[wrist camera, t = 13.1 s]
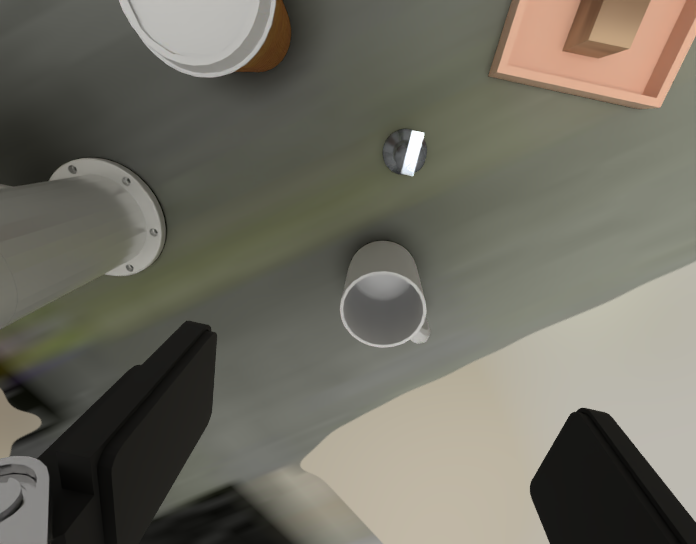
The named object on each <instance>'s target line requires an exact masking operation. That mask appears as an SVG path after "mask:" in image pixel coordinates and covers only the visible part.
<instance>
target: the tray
mask: <svg viewBox="0 0 696 544" xmlns="http://www.w3.org/2000/svg"><path fill="white" fill-rule="evenodd" d="M580 1H581V0H512V2H511V5H510V8H509V11H508V14H507V18H506V21H505V24H504V27H503V30H502V34H501V37H500V40H499V43H498V46H497V50H496V53H495V56H494V59H493V62H492V66H491V69H490V72H489V75H488V76H489V77H494V78H498V79H503V80H507V81H512V82H516V83H521V84H526V85H530V86H535V87H539V88H544V89H548V90H553V91H558V92H562V93H567V94H571V95H576V96H581V97H585V98H590V99H594V100H599V101H603V102H608V103H613V104H617V105H622V106H626V107H631V108H636V109H650V108H660V107H661V105H662V103H663V101H664V99H665V97H666V95H667V93H668V91H669V89H670V87H671V85H672V83H673V81H674V79H675V76H676V74H677V72H678V70H679V68H680V66H681V64H682V62H683V60H684V58H685V56H686V54H687V52H688V50H689V48H690V46H691V44H692V42H693V40H694V38H695V36H696V0H651V1H650V3H649V6H648V8H647V10H646V12H645V15H644V17H643V19H642V22H641V24H640V26H639V29H638V31H637V33H636V36H635V38H634V40H633V43H632V45H631V47H630V49H628V50H624V51H621V52H618V53H615V54H612V55H608V56H605V57H602V58H599V59H598V58H593V57H588V56H583V55H579V54H574V53H569V52H564V51H562V50H563V47H564V45H565V42H566V39H567V37H568V34H569V31H570V28H571V26H572V23H573V20H574V18H575V15H576V12H577V10H578V7H579V4H580Z"/></svg>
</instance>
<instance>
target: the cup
mask: <svg viewBox="0 0 696 544" xmlns="http://www.w3.org/2000/svg"><path fill="white" fill-rule="evenodd" d="M340 313H341V319H342V321H343V323H344V326H345V328H346V329H347V330H348V331H349V333H350V334H351V335H352V336H353V337H355V338H356V339H357V340H359V341H360V342H362V343H365V344H367V345H370V346H375V347H381V348H382V347H393V346H397V345H400V344H403V343H405V342H406V341H408V340H412V341H413V342H414V343H418V344H420V343H424V342H426V341H427V339H428V338H429V336H430V327H429V324H428V321H427V318H426V302H425V298H424V294H423V290H422V286H421V282H420V278H419V274H418V270H417V267H416V264H415V261H414V259H413V257H412V256H411V254H410V253H409V252H408V251H407V250H406V249H405V248H404V247H402V246H401V245H399V244H396V243H394V242H390V241H375V242H372V243H369V244H366V245H365V246H363V247H362V248H361V249H359V250H358V251H357V253H356V254H355V255H354V256H353V258H352V261H351V263H350V265H349V269H348V273H347V277H346V282H345V286H344V290H343V294H342V299H341V305H340Z"/></svg>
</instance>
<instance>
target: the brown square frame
mask: <svg viewBox="0 0 696 544" xmlns="http://www.w3.org/2000/svg"><path fill="white" fill-rule="evenodd" d="M650 1H651V0H581V1H580V4H579V7H578V10H577V12H576V15H575V18H574V20H573V23H572V26H571V28H570V31H569V34H568V37H567V39H566V42H565V45H564V47H563V50H562V51H564V52H569V53H574V54H579V55H583V56H588V57H593V58H598V59H599V58H602V57H605V56H608V55H612V54H615V53H618V52H621V51H624V50H628V49H630V47H631V45H632V43H633V40H634V38H635V36H636V33H637V31H638V29H639V26H640V24H641V22H642V19H643V17H644V15H645V12H646V10H647V8H648V6H649V3H650Z"/></svg>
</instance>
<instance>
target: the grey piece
mask: <svg viewBox="0 0 696 544" xmlns="http://www.w3.org/2000/svg"><path fill="white" fill-rule="evenodd" d="M424 134H425V133H422V132H418V131H414V130H411V129H401V130H397V131H395V132H394V133H392V134H391V135H390V136H389V137H388V138H387V140H386V142H385V144H384V147H383V158H384V161H385V164H386V165H387V167H388V168H389V169H390V170H391V171H393V172H395V173H397V174H402V175H405V174H406V175H411V176H413V175H414V173H415V172H417V171H419V170H420V169H421V168H422V166H423V165H424V162H425V158H426V154H427V147H426V143H425V141H424V139H423V137H424Z"/></svg>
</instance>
